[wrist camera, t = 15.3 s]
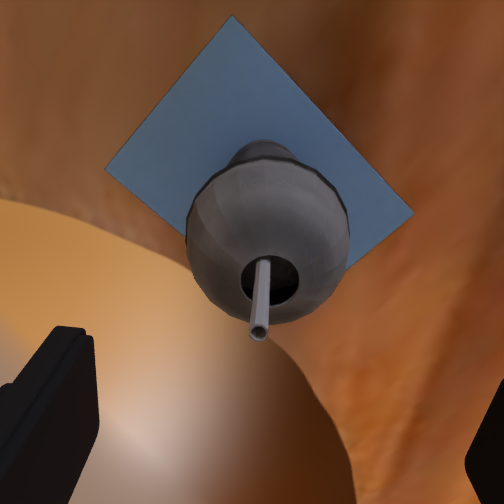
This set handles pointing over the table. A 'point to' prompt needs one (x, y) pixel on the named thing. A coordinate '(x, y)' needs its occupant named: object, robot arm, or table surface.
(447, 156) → the table surface
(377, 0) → the table surface
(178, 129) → the desk mat
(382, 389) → the table surface
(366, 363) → the table surface
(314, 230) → the beverage cup
